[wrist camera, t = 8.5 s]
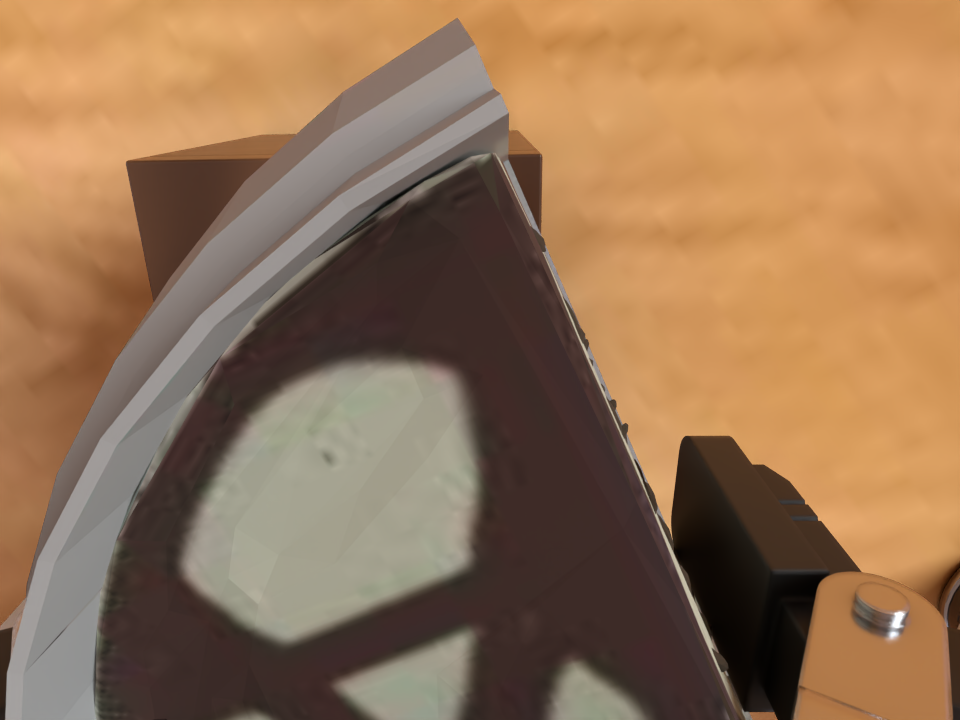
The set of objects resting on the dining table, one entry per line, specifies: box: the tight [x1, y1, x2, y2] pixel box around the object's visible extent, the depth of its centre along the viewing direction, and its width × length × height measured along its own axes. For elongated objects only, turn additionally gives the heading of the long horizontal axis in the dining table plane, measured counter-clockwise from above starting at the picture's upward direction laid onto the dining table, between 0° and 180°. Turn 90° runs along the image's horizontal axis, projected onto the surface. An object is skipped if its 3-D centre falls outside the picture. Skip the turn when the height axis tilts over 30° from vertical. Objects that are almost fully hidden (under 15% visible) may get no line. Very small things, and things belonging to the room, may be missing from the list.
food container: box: [5, 18, 752, 720], centre depth 10 cm, size 12×6×10 cm, turn 25°
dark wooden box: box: [126, 131, 542, 301], centre depth 31 cm, size 13×17×14 cm
